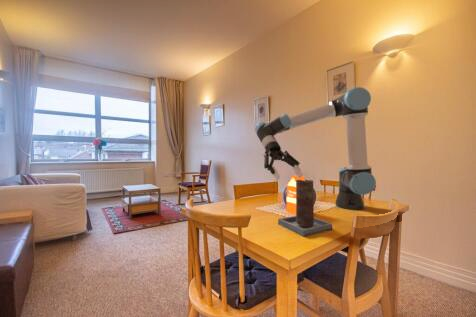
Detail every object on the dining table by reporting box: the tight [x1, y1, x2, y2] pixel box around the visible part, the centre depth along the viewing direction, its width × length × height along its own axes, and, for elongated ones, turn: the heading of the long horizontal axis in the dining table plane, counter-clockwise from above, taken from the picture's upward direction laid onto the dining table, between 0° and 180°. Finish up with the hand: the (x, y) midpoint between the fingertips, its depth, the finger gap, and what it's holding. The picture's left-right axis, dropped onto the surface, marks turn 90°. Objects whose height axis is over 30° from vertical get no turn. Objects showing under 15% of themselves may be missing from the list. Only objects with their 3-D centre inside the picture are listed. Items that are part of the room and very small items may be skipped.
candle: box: [295, 179, 315, 228], centre depth 97 cm, size 8×7×20 cm
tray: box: [277, 215, 333, 237], centre depth 98 cm, size 16×16×2 cm
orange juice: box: [286, 175, 306, 216], centre depth 119 cm, size 8×9×20 cm
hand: (290, 177), depth 106 cm, fingers open, 13 cm apart
